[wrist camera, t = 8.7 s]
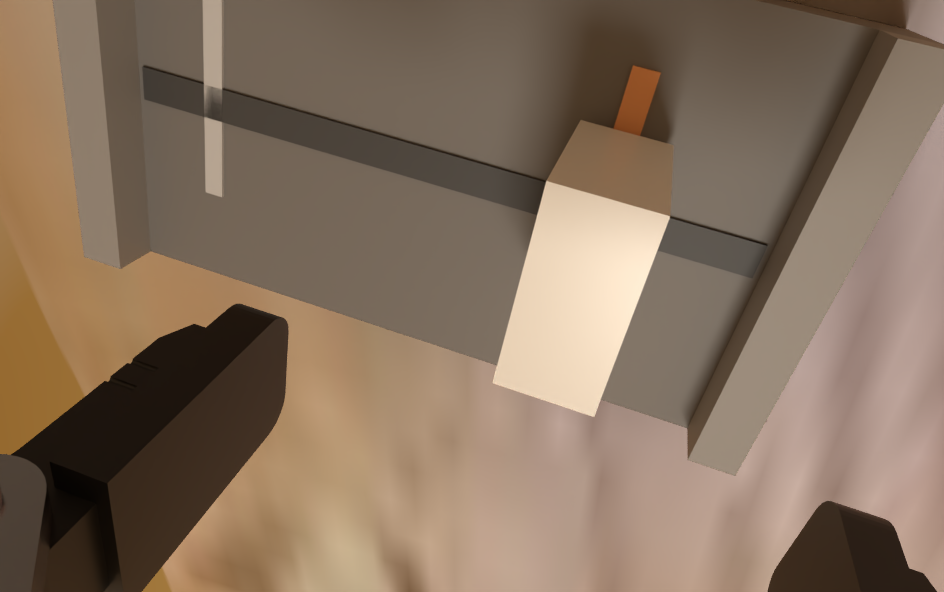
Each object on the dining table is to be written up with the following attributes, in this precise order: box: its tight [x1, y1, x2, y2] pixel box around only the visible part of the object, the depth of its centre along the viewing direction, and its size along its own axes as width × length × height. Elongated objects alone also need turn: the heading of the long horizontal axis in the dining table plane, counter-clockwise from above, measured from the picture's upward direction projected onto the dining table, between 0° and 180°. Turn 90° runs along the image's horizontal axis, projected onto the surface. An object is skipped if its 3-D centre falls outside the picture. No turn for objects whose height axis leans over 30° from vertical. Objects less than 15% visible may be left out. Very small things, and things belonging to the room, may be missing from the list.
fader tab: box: [493, 120, 674, 417], centre depth 16 cm, size 5×2×5 cm, turn 168°
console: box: [53, 0, 944, 476], centre depth 20 cm, size 12×22×4 cm, turn 78°
